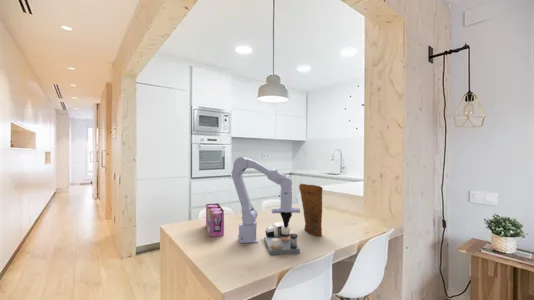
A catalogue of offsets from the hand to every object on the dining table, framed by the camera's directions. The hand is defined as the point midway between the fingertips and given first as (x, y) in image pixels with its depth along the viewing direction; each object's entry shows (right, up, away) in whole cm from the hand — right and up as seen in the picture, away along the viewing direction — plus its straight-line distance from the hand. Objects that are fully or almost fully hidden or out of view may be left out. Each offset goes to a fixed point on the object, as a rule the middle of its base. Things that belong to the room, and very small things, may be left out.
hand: (285, 227), depth 135 cm
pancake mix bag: (+16, -9, +18) cm, 26 cm away
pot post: (+3, -6, -12) cm, 14 cm away
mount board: (-3, -8, -6) cm, 10 cm away
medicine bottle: (+2, -4, +9) cm, 10 cm away
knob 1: (-5, -6, -11) cm, 14 cm away
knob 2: (0, -3, 0) cm, 3 cm away
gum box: (-41, -8, +19) cm, 46 cm away
